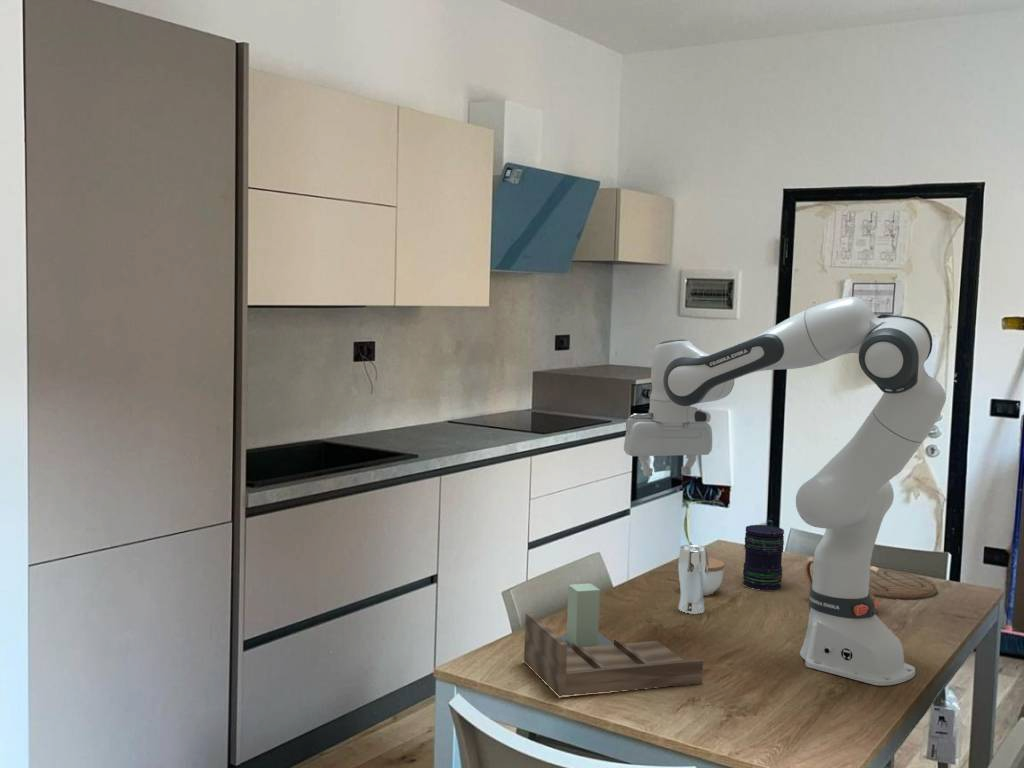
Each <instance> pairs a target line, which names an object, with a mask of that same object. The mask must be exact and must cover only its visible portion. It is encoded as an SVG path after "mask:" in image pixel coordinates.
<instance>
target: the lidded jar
mask: <svg viewBox="0 0 1024 768" xmlns="http://www.w3.org/2000/svg"><path fill="white" fill-rule="evenodd" d="M708 559H709V565H708V575H707V580H706V585H705V589H704V595H703V596H709V595H708V594H712V593H713V594H714V592H716V591H717V590H718V589H719V587H720V586H721V584H722V582H723V577H724V569H725V562H723V561H722V560H720V559H716V558H712V557H708ZM713 594H712V595H713Z"/></svg>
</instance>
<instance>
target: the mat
mask: <svg viewBox="0 0 1024 768" xmlns="http://www.w3.org/2000/svg"><path fill="white" fill-rule="evenodd" d="M556 635H557V636H558V634H556ZM559 635H560V636H558V637H560V638H561V639H562V640H563V641H564V642H565V643H566V644H567V649H569V648H572V645H571V644H570V643H569V642H568V641H567V640H566V639H567V634H559ZM561 635H562V636H563V637H562V636H561ZM603 645H614V642H612V641H611V640H610V639H608V638H607V637H606V636H605V635H603V634H602V633H601V632H599V631H598V646H603Z"/></svg>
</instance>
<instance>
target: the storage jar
mask: <svg viewBox="0 0 1024 768" xmlns="http://www.w3.org/2000/svg"><path fill="white" fill-rule="evenodd" d="M784 534H785V530H784V529H783V528H781V527H779V526H773V525H767V524H765V525H764V524H750V525H747V526H745V536H744V546H743V547H744V550H745V555H744V563H743V569H742V576H743V577H742V578H743V581H742V585H743V584H744V585H746V586H747V587H750V588H754V589H760V590H777V589H780V588H781V589H782V584H781V583H782V580H783V566H782V561H783V560H782V557H783V552H784V545H785V538H784V537H785V536H784ZM744 585H743V586H744ZM747 587H746V588H747ZM750 588H749V589H750ZM781 589H780V590H781ZM777 591H778V590H777Z"/></svg>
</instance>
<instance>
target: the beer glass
mask: <svg viewBox="0 0 1024 768" xmlns="http://www.w3.org/2000/svg"><path fill="white" fill-rule="evenodd" d="M708 558H709V548H708V547H706V546H704V545H699V544H683V545H681V546H680V547H679V555H678V562H677V563H678V564H677V565H678V567H677V568H678V570H677V571H678V579H679V588H680V596H679V597H680V598H679V603H678V608H677V609H679V610H680V611H679V610H678V611H679V612H681V611H682V612H681V613H683V612H685V613H684V614H687V613H689V614H688V615H700V613H701V614H703V613H705V603H704V596H705V595H704V589H705V585H706V580H707V575H708V565H709V559H708ZM698 613H699V614H698Z"/></svg>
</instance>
